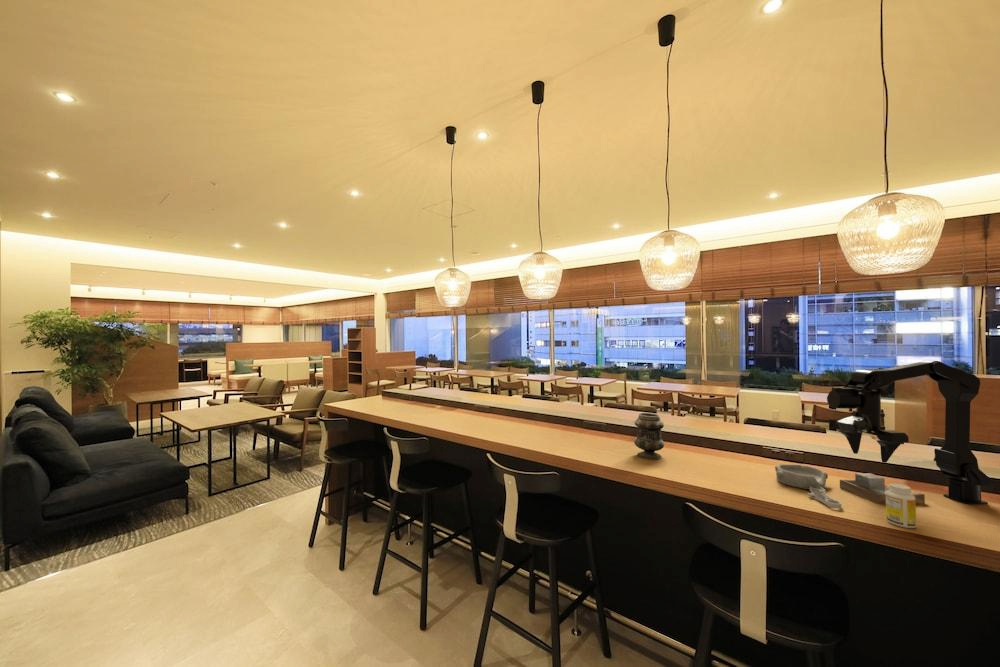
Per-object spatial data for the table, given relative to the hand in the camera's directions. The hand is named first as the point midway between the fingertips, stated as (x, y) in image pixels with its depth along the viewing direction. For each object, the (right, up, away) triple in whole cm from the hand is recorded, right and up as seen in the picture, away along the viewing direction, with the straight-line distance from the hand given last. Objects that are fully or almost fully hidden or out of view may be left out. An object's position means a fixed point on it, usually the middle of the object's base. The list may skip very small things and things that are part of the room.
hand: (869, 457), depth 121 cm
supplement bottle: (-11, -12, -20) cm, 25 cm away
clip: (0, -11, 0) cm, 11 cm away
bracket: (-18, -12, -4) cm, 22 cm away
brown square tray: (+3, -12, 0) cm, 12 cm away
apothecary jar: (-55, -13, +41) cm, 70 cm away
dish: (-15, -12, +9) cm, 22 cm away
